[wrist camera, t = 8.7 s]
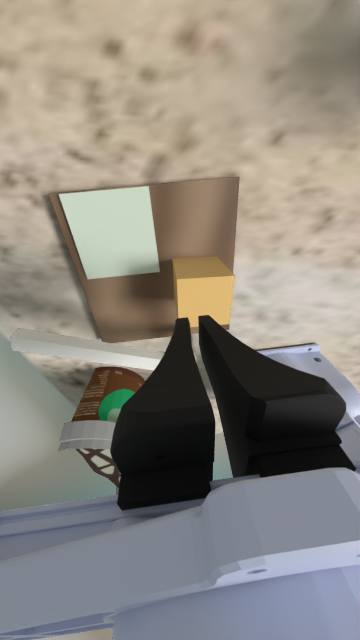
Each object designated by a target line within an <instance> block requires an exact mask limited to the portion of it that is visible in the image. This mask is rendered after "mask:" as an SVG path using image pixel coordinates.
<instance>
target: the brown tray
mask: <svg viewBox="0 0 360 640" xmlns="http://www.w3.org/2000/svg"><path fill="white" fill-rule="evenodd" d="M144 186H149V193H150V201H151V208H152V216H153V223H154V231H155V238H156V246H157V253H158V261H159V268H160V272H154V273H144V274H135V275H125V276H116V277H106V278H96V279H87V276H86V273H85V270H84V267H83V265H82V262H81V259H80V256H79V253H78V250H77V247H76V244H75V241H74V238H73V235H72V232H71V229H70V226H69V223H68V221H67V218H66V215H65V212H64V209H63V206H62V203H61V200H60V197H59V194H65V193H77V192H88V191H99V190H111V189H122V188H133V187H144ZM238 191H239V177H229V178H218V179H206V180H195V181H184V182H172V183H161V184H150V185H138V186H127V187H116V188H104V189H93V190H82V191H71V192H59V193H48V194H49V196H50V199H51V202H52V205H53V207H54V210H55V213H56V216H57V219H58V221H59V224H60V227H61V230H62V232H63V235H64V238H65V241H66V243H67V246H68V249H69V252H70V254H71V257H72V260H73V263H74V265H75V268H76V271H77V274H78V276H79V279H80V282H81V285H82V287H83V290H84V293H85V296H86V298H87V301H88V304H89V307H90V309H91V312H92V315H93V318H94V320H95V323H96V326H97V329H98V331H99V334H100V337H101V340H102V342H107V343H117V342H126V341H135V340H143V339H152V338H160V337H169V336H172V335H173V332H174V328H175V320H176V319H177V313H176V306H175V300H174V280H173V260H172V259H180V258H197V257H215V256H217V257H218V258H219V259H220V260H221V261H222V262H223V263H224V264H225V266H226V267H227V268H228V269H229V270H230V271H231V272H232V273H233V264H234V249H235V235H236V220H237V205H238ZM229 322H230V321H229ZM220 326H222V327H223V328H224V329H225V330H229V324H226V325H220ZM190 330H191V341H192V349H193V352H194V353H195V357H196V361H197V355H196V351H195V347H194V343H193V339H192V334H195V333H199V327H190Z"/></svg>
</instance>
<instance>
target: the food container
mask: <svg viewBox="0 0 360 640" xmlns="http://www.w3.org/2000/svg"><path fill="white" fill-rule="evenodd" d="M144 382H145V380H144V379H143V378H142V377H141V376H140V375H138V374H137V373H135V372H133V371H131V370H128V369H125V368H121V367H100V368H96V369H95V371H94V374H93V376H92V378H91V380H90V382H89V384H88V386H87V389H86V391H85V393H84V395H83V397H82V399H81V401H80V404H79V406H78V408H77V410H76V412H75V414H74V416H73V419H72V421H71V422H69V423H64V427H63V430H62V434H61V438H60V442H61V444H60V447H59V450H58V451H64V450H71V449H76V450H77V451H78V452H79V453H80V454H81V455H82V456H83V457H84V459H85V460H86V461H87V463H88V464H89V466H90V467H91V468H92V469H93V471H94V472H96V473H98V474H100V475H102V476H105V477H107V478H108V479H109V480H110V481H112V482H113V483H114V484H115V485H116V486H117V487H116V495H117V494H118V492H119V484H120V477H121V473H120V472H119V470H118V468H117V466H116V464H115V462H114V461H113V459H112V457H111V453H110V448H111V443H112V437H113V432H114V428H115V424H116V421H117V418H118V415H119V413H120V410H121V408H122V405H123V404H124V403H125V402H126V401H127V400H128V399H129V398H130V397H132V396H133V395H134V394H135V393H136V392H137V390H138V389H139V388H140V387H141V386H142V385H143V384H144Z"/></svg>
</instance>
